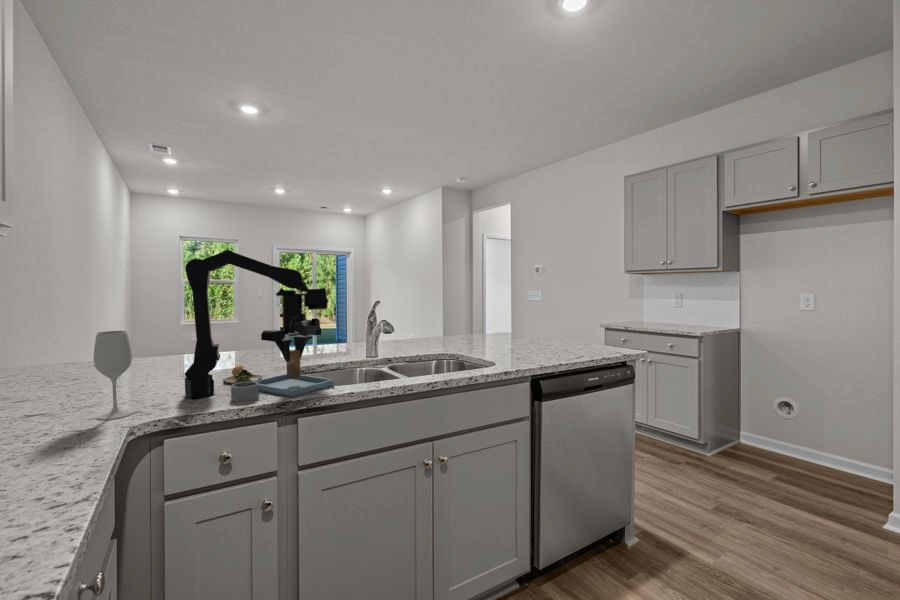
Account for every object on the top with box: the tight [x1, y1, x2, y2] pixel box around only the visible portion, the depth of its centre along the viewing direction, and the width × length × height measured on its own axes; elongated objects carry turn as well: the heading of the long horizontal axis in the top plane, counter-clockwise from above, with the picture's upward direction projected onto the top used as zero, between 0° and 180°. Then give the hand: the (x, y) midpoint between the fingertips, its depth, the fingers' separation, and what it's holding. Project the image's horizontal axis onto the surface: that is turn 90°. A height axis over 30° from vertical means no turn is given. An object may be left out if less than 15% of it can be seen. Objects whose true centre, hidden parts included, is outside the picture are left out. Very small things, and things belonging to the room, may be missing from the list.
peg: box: [286, 348, 301, 378], centre depth 137 cm, size 4×4×8 cm
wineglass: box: [93, 330, 134, 421], centre depth 110 cm, size 8×8×21 cm
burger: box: [222, 363, 263, 386], centre depth 145 cm, size 12×12×8 cm
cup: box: [230, 380, 260, 403], centre depth 124 cm, size 7×7×4 cm
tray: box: [252, 373, 335, 399], centre depth 137 cm, size 16×20×2 cm
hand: (293, 360), depth 137 cm, fingers closed on peg, 4 cm apart
